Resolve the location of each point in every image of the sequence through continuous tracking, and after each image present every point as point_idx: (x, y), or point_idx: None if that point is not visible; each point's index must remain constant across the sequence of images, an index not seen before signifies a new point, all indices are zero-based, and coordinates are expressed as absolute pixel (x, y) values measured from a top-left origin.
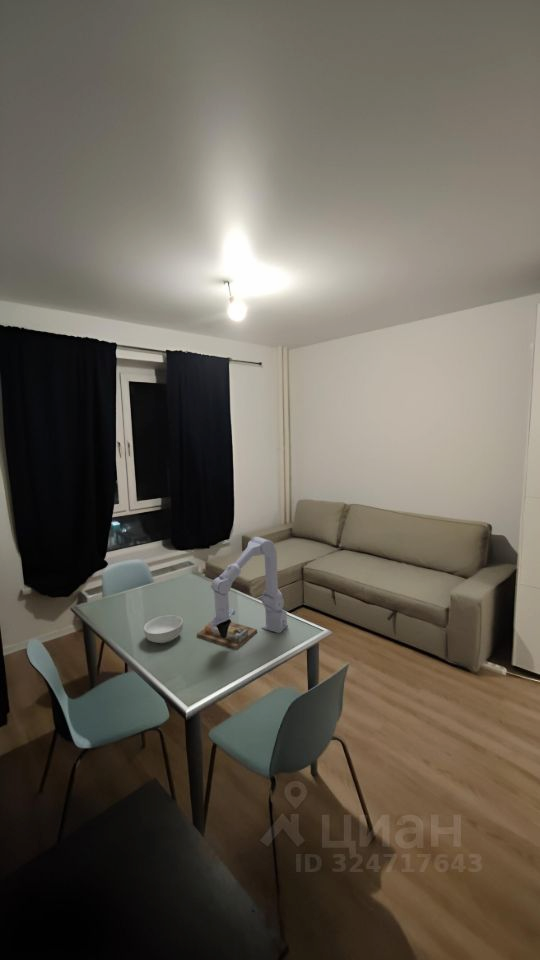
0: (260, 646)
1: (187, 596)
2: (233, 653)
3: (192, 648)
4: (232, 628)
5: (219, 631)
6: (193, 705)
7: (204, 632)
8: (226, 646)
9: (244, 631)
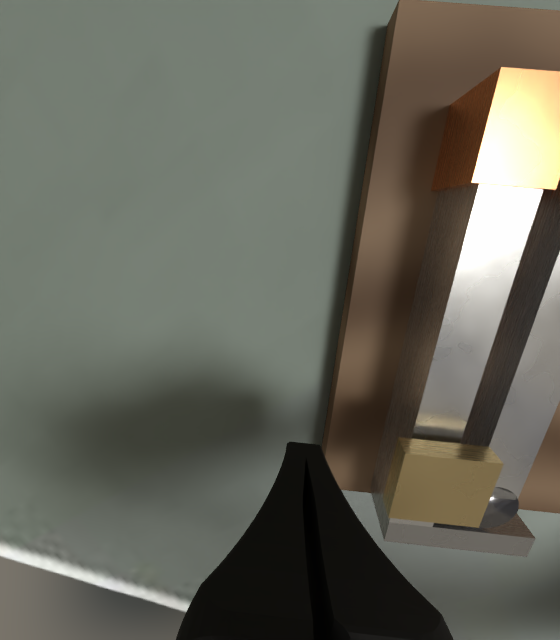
0: (406, 565)
1: None
2: (275, 470)
3: (188, 147)
4: (470, 491)
5: (274, 492)
6: None
7: (451, 89)
8: (329, 397)
9: (481, 546)
